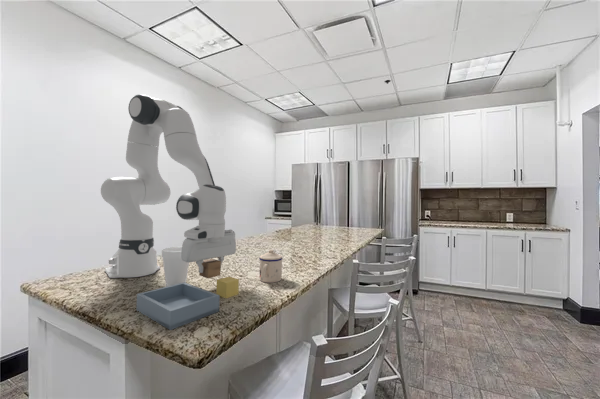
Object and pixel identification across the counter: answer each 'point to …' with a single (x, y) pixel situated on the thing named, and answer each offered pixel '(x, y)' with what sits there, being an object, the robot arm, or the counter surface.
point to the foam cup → (174, 266)
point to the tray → (177, 304)
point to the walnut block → (211, 268)
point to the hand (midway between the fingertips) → (210, 270)
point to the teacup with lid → (270, 267)
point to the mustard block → (227, 287)
